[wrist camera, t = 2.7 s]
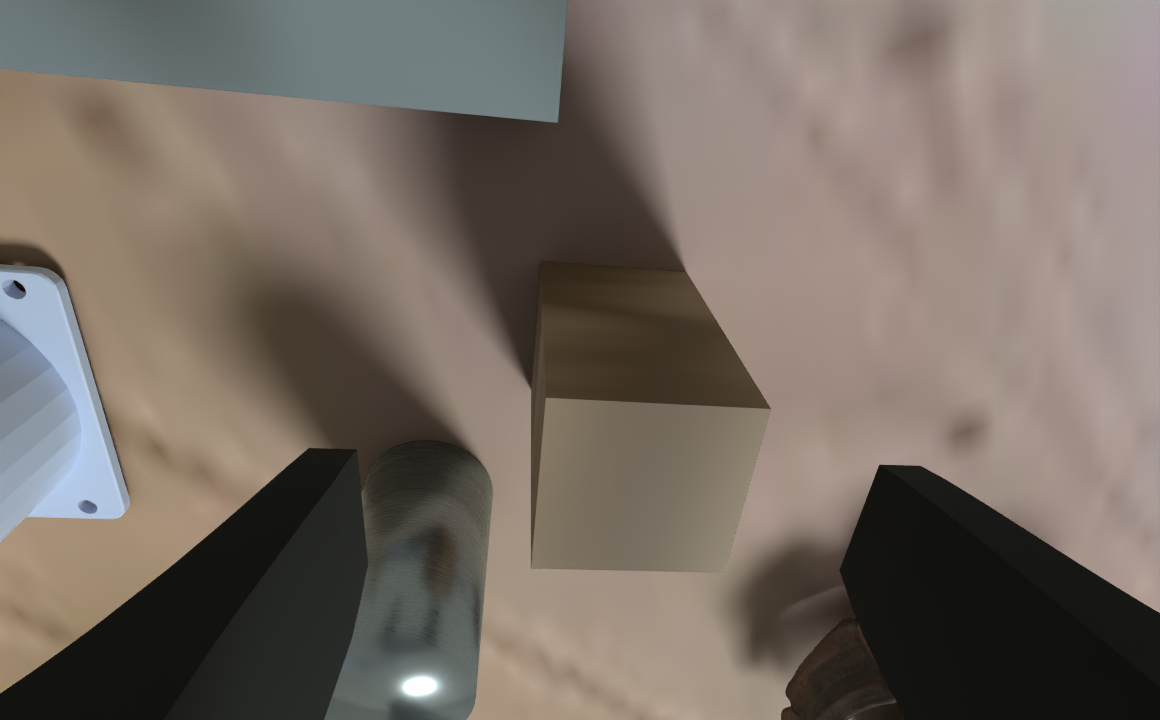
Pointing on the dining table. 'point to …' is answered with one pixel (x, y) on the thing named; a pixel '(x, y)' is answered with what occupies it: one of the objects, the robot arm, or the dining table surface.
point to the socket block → (307, 49)
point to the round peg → (419, 588)
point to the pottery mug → (837, 678)
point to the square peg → (636, 424)
